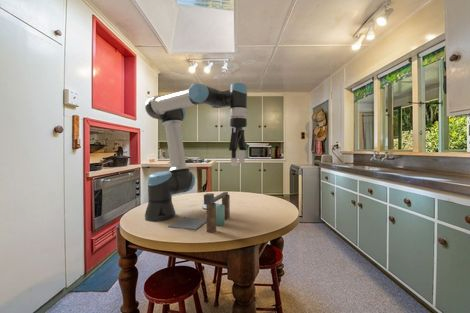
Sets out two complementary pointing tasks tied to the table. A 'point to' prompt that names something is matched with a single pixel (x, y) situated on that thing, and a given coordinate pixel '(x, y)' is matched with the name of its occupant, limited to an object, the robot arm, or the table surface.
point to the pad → (188, 223)
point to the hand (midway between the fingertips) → (238, 164)
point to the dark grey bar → (213, 198)
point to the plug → (220, 215)
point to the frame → (212, 213)
